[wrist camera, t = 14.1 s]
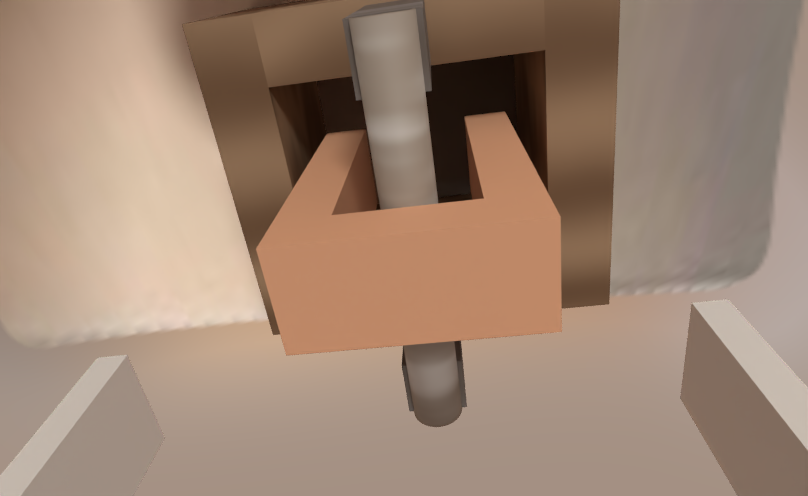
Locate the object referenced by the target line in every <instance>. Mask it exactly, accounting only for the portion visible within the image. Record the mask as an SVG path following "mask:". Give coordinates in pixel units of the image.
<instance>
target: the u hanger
mask: <svg viewBox="0 0 808 496" xmlns="http://www.w3.org/2000/svg"><path fill="white" fill-rule="evenodd" d="M464 119H465V131H466V142H467V154H468V165H469V177H470V188H471V195H472V200H465V201H456V202H447V203H438V204H429V205H420V206H411V207H402V208H393V209H384V210H376V208H377V203H378V199H377V194H376V188H375V182H374V176H373V170H372V164H371V158H370V152H369V146H368V140H367V134H366V129H359V130H351V131H343V132H335V133H327V134H326V136H325V138H324V139H323V141H322V142H321V144H320V146H319V147H318V149H317V151H316V152H315V154H314V155H313V157H312V159H311V160H310V162H309V164H308V165H307V167H306V168H305V170H304V172H303V173H302V175H301V177H300V178H299V180H298V181H297V183H296V185H295V186H294V188H293V190H292V191H291V193H290V194H289V196H288V198H287V199H286V201H285V203H284V204H283V206H282V207H281V209H280V211H279V212H278V214H277V216H276V217H275V219H274V220H273V222H272V224H271V225H270V227H269V229H268V230H267V232H266V233H265V235H264V237H263V238H262V240H261V242H260V243H259V245H258V246H257V248H256V251H257V254H258V258H259V261H260V265H261V268H262V272H263V275H264V279H265V282H266V286H267V289H268V293H269V296H270V300H271V303H272V307H273V310H274V314H275V317H276V321H277V324H278V328H279V331H280V335H281V338H282V342H283V345H284V348H285V352H286V355H297V354H309V353H319V352H320V353H321V352H332V351H344V350H356V349H367V348H379V347H391V346H402V345H414V344H426V343H437V342H449V341H461V340H472V339H483V338H496V337H507V336H519V335H530V334H542V333H554V332H562V317H561V316H562V305H561V216H560V215H559V213H558V211H557V209H556V207H555V205H554V203H553V201H552V199H551V198H550V196H549V194H548V192H547V190H546V188H545V186H544V184H543V183H542V181H541V179H540V177H539V175H538V173H537V171H536V169H535V167H534V166H533V164H532V162H531V160H530V158H529V156H528V154H527V152H526V150H525V149H524V147H523V145H522V143H521V141H520V139H519V137H518V135H517V134H516V132H515V130H514V128H513V126H512V124H511V122H510V120H509V118H508V117H507V115H506V113H505V111H503V112H495V113H487V114H479V115H471V116H464Z"/></svg>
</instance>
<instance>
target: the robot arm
mask: <svg viewBox="0 0 808 496" xmlns="http://www.w3.org/2000/svg"><path fill="white" fill-rule="evenodd" d="M680 398H681V400H682V402H683V403H684V405H685V407H686V409H687V410H688V412H689V414H690V416H691V417H692V419H693V420H694V422H695V424H696V426H697V427H698V429H699V431H700V433H701V434H702V436H703V438H704V439H705V441H706V443H707V444H708V446H709V448H710V450H711V451H712V453H713V455H714V456H715V458H716V460H717V461H718V463H719V465H720V467H721V468H722V470H723V472H724V473H725V475H726V477H727V478H728V480H729V482H730V484H731V485H732V487H733V489H734V490H735V492H736V494H737V495H738V496H808V388H807V386H806V385H805V384H804V383H803V382H802V381H801V380H800V379H799V378H798V377H797V375H796V374H795V373H794V372H793V371H792V370H791V369H790V368H789V367H788V365H787V364H786V363H785V362H784V361H783V360H782V359H781V358H780V357H779V355H778V354H777V353H776V352H775V351H774V350H773V349H772V348H771V347H770V346H769V344H768V343H767V342H766V341H765V340H764V339H763V338H762V337H761V335H760V334H759V333H758V332H757V331H756V330H755V329H754V328H753V327H752V325H751V324H750V323H749V322H748V321H747V320H746V319H745V318H744V317H743V315H742V314H741V313H740V312H739V311H738V310H737V309H736V308H735V307H734V306H733V304H732V303H731V302H730V301H729V300H718V301H706V302H696V303H692V305H691V313H690V322H689V330H688V338H687V347H686V355H685V363H684V372H683V380H682V389H681V396H680ZM164 439H165V437H164V435H163V432H162V430H161V428H160V426H159V424H158V421H157V419H156V417H155V415H154V413H153V411H152V408H151V406H150V404H149V402H148V399H147V397H146V395H145V393H144V391H143V389H142V386H141V384H140V382H139V380H138V378H137V376H136V373H135V371H134V369H133V366H132V364H131V362H130V360H129V358H128V355H122V356H110V357H100V358H97V359H96V360H95V361H94V363H93V364H92V365H91V366H90V367H89V369H88V370H87V371H86V372H85V373H84V375H83V376H82V377H81V378H80V380H79V381H78V382H77V383H76V384H75V385H74V387H73V388H72V389H71V390H70V392H69V393H68V394H67V395H66V396H65V398H64V399H63V400H62V401H61V402H60V404H59V405H58V406H57V407H56V409H55V410H54V411H53V412H52V413H51V415H50V416H49V417H48V418H47V419H46V421H45V422H44V423H43V424H42V425H41V427H40V428H39V429H38V430H37V431H36V433H35V434H34V435H33V436H32V438H31V439H30V440H29V441H28V442H27V443H26V445H25V446H24V447H23V448H22V450H21V451H20V452H19V453H18V455H17V456H16V457H15V458H14V459H13V460H12V462H11V463H10V464H9V465H8V466H7V468H6V469H5V470H4V471H3V472H2V474H1V475H0V496H133V495H134V494H135V492H136V490H137V488H138V486H139V485H140V483H141V481H142V479H143V477H144V476H145V473H146V472H147V470H148V468H149V466H150V465H151V463H152V461H153V459H154V457H155V455H156V453H157V452H158V450H159V448H160V446H161V444H162V443H163V441H164Z"/></svg>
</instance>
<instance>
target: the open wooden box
mask: <svg viewBox="0 0 808 496" xmlns="http://www.w3.org/2000/svg"><path fill="white" fill-rule="evenodd" d="M619 18H620V0H306V1H299V2H292V3H286V4H279V5H272V6H266V7H259V8H252V9H247V10H243V11H238V12H234V13H230V14H225V15H221V16H217V17H212V18H208V19H203V20H199V21H195V22H190V23H186V24H182V26H183V29H184V33H185V36H186V40H187V43H188V46H189V50H190V53H191V57H192V60H193V64H194V67H195V70H196V74H197V77H198V81H199V84H200V87H201V91H202V94H203V98H204V101H205V104H206V108H207V111H208V115H209V118H210V121H211V125H212V128H213V132H214V135H215V138H216V142H217V145H218V149H219V152H220V155H221V159H222V162H223V166H224V169H225V172H226V176H227V179H228V183H229V186H230V189H231V193H232V196H233V200H234V203H235V207H236V210H237V213H238V217H239V220H240V224H241V227H242V230H243V234H244V237H245V241H246V244H247V247H248V251H249V254H250V258H251V261H252V264H253V268H254V271H255V275H256V278H257V281H258V285H259V288H260V292H261V295H262V298H263V302H264V305H265V309H266V312H267V315H268V319H269V322H270V325H271V329H272V332H273V335H277V334H280V331H279V328H278V324H277V321H276V317H275V314H274V310H273V307H272V303H271V300H270V296H269V293H268V289H267V286H266V282H265V279H264V275H263V272H262V268H261V265H260V261H259V258H258V254H257V251H256V248H257V246H258V245H259V243H260V242H261V240H262V238H263V237H264V235H265V233H266V232H267V230H268V229H269V227H270V225H271V224H272V222H273V220H274V219H275V217H276V216H277V214H278V212H279V211H280V209H281V207H282V206H283V204H284V203H285V201H286V199H287V198H288V196H289V194H290V193H291V191H292V190H293V188H294V186H295V185H296V183H297V181H298V180H299V178H300V177H301V175H302V173H303V172H304V170H305V168H306V167H307V165H308V164H309V162H310V160H311V159H312V157H313V155H314V154H315V152H316V151H317V149H318V147H319V146H320V144H321V142H322V141H323V139H324V138H325V136H326V134H327V132H326V127H325V122H324V117H323V112H322V107H321V103H320V98H319V93H318V88H317V83H316V81H320V80H328V79H335V78H342V77H350V76H352V79H353V85H354V91H355V97H356V101H358V100H362V102H363V108H364V114H365V120H366V126H367V132H368V138H369V144H370V150H371V156H372V162H373V168H374V174H375V180H376V186H377V192H378V198H379V204H377V208H376V210H384V209H393V208H402V207H411V206H420V205H429V204H438V203H447V202H456V201H465V200H472V195H471V194H463V195H454V196H446V197H438V196H437V188H436V179H435V170H434V162H433V153H432V144H431V136H430V127H429V119H428V110H427V101H426V93H425V92H426V91H432V84H431V65H439V64H446V63H453V62H461V61H468V60H476V59H483V58H490V57H498V56H505V55H513V54H514V75H515V98H516V120H517V135H518V137H519V139H520V141H521V143H522V145H523V147H524V149H525V150H526V152H527V154H528V156H529V158H530V160H531V162H532V164H533V166H534V167H535V169H536V171H537V173H538V175H539V177H540V179H541V181H542V183H543V184H544V186H545V188H546V190H547V192H548V194H549V196H550V198H551V199H552V201H553V203H554V205H555V207H556V209H557V211H558V213H559V215H560V216H561V305H562V308H573V307H584V306H594V305H605V304H609V294H610V267H611V239H612V212H613V184H614V156H615V129H616V101H617V74H618V46H619ZM402 370H403V375H404V381H405V387H406V392H407V399H408V404H409V410H410V411H414V413H415V416H416V418H417V419H418V420H419V421H420V422H421V423H422V424H425V425H428V426H432V427H441V426H445V425H448V424H451V423H452V422H454V421H455V420H456V419H457V418H458V417H459V416H460V414H461V411H462V407H467V404H466V393H465V382H464V371H463V360H462V349H461V341H449V342H437V343H426V344H414V345H403V356H402Z"/></svg>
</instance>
